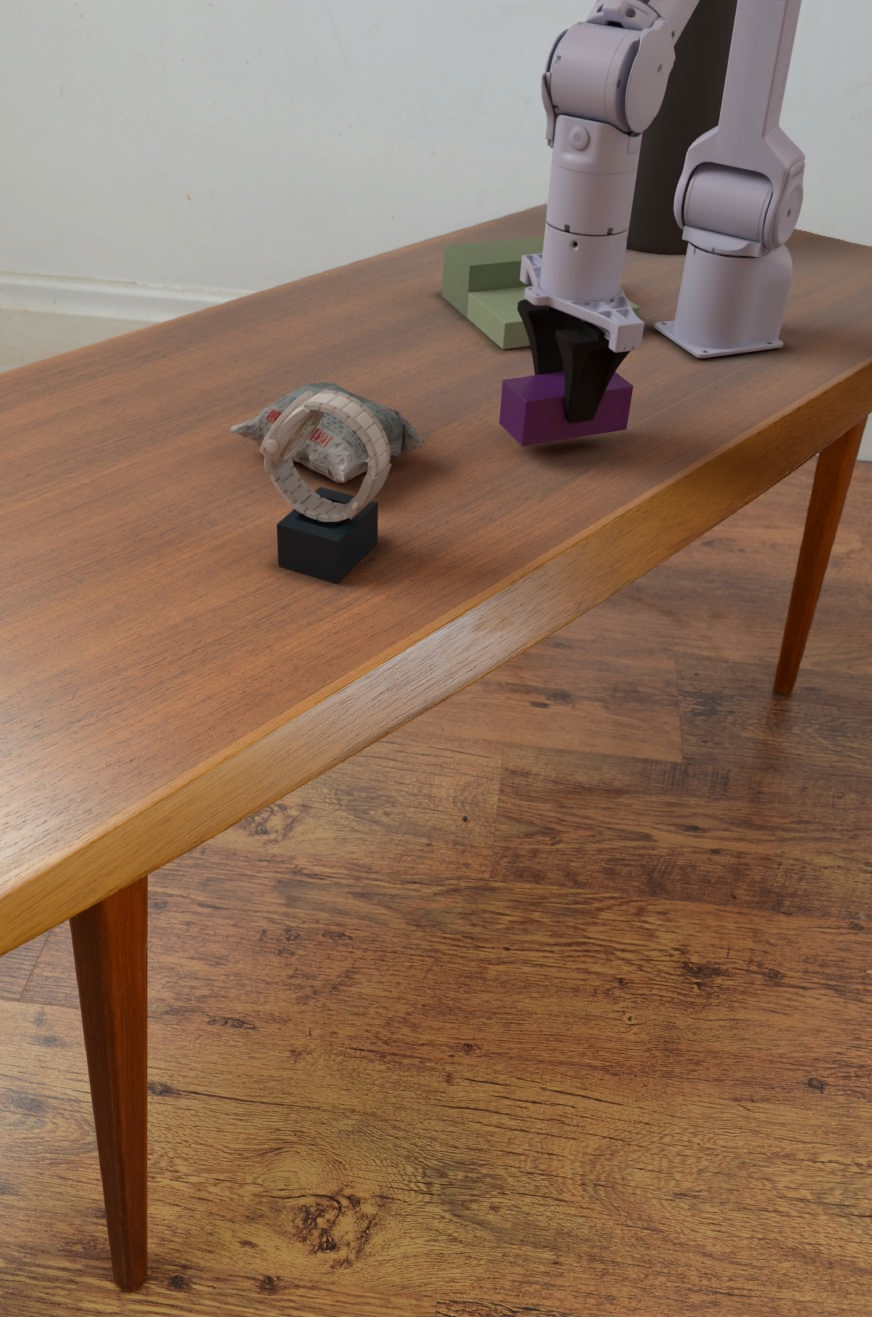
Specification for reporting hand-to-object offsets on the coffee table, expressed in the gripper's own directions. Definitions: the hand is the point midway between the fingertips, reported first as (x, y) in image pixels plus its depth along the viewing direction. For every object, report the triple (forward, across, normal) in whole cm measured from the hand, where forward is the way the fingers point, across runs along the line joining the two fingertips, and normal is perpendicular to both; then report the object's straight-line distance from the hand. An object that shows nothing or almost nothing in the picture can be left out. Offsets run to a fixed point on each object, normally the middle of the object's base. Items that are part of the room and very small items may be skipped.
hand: (564, 406), depth 87 cm
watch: (+3, +9, -22) cm, 24 cm away
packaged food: (+3, -3, -18) cm, 19 cm away
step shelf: (+3, -26, +11) cm, 29 cm away
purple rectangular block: (+2, 0, 0) cm, 2 cm away
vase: (+4, -44, +36) cm, 57 cm away
